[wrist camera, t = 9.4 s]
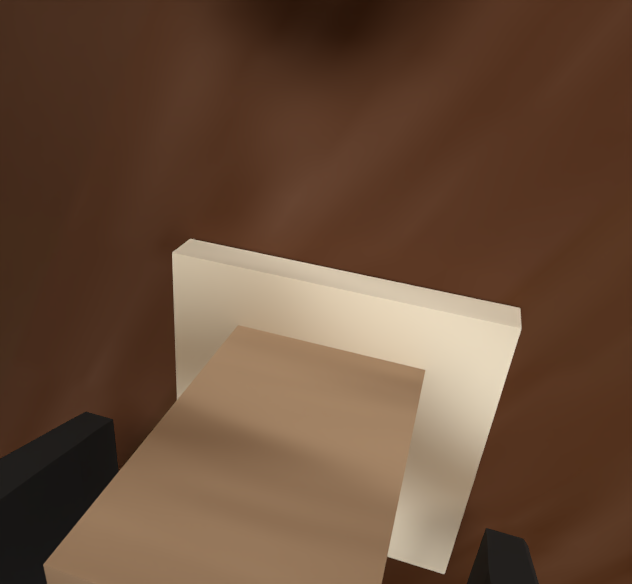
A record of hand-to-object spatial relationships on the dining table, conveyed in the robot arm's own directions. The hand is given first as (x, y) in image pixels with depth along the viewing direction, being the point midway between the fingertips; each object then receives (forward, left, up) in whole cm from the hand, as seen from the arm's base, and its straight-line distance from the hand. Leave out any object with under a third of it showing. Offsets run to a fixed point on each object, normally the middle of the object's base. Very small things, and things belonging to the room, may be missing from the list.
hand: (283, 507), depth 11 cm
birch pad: (0, 0, -3) cm, 3 cm away
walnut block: (0, 0, -2) cm, 2 cm away
